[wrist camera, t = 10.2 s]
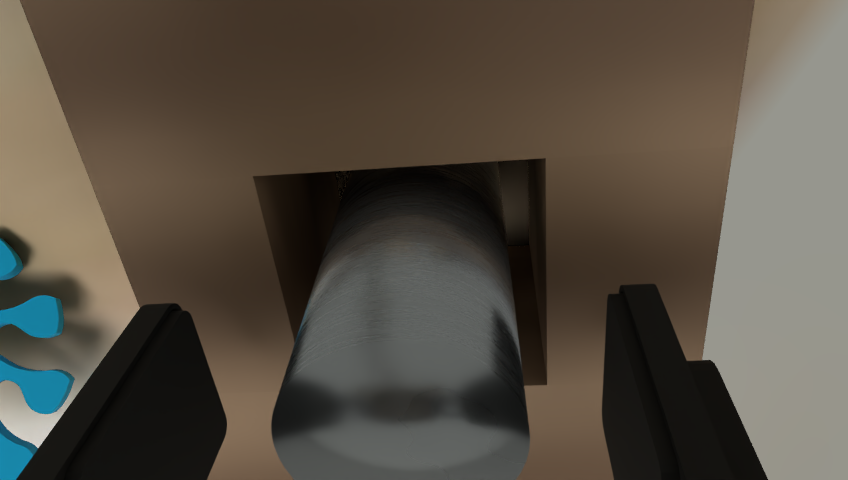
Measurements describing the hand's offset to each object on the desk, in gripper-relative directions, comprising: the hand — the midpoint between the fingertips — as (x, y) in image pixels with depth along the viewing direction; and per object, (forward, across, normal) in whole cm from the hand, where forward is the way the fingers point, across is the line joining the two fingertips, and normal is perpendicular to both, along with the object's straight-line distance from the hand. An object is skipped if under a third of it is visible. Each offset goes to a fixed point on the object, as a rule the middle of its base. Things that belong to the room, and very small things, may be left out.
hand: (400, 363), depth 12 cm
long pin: (+8, 0, 0) cm, 8 cm away
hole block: (+8, 0, 0) cm, 8 cm away
